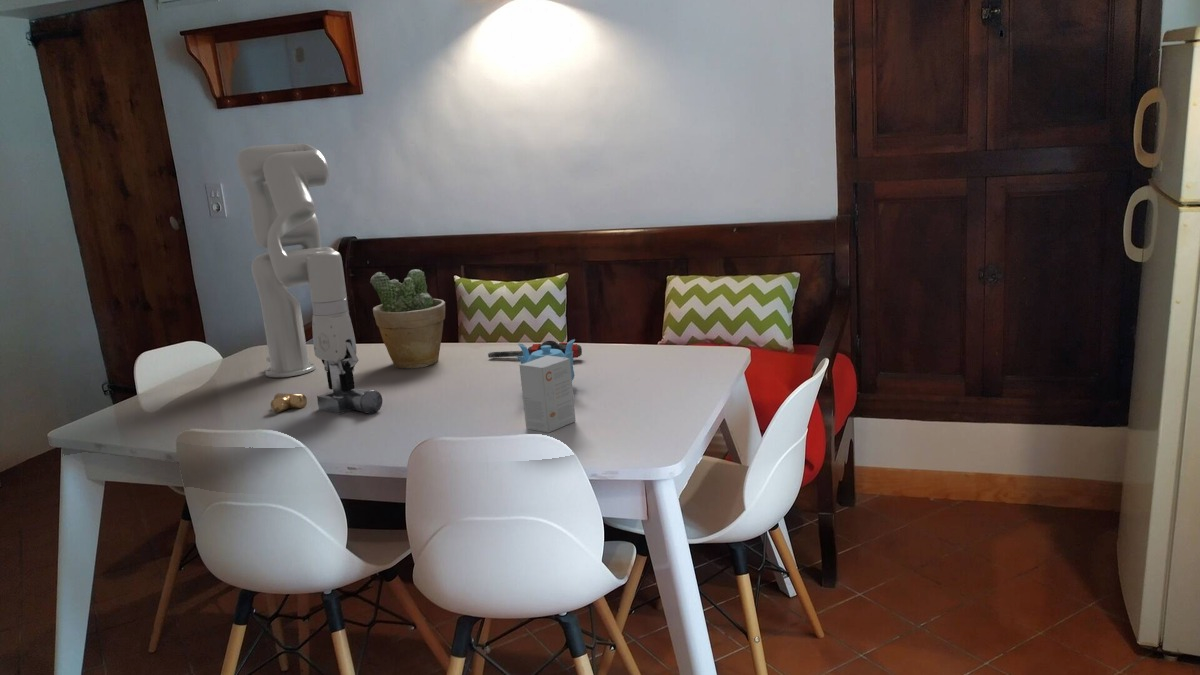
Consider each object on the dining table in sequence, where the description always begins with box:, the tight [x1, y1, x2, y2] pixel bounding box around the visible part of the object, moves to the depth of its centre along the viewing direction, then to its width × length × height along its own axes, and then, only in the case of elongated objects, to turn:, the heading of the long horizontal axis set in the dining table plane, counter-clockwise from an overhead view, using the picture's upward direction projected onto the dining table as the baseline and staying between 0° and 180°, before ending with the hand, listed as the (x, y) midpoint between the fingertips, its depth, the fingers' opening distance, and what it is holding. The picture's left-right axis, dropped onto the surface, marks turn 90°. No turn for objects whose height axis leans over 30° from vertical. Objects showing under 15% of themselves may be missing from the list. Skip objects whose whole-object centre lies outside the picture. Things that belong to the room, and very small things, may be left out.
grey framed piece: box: [316, 387, 383, 415], centre depth 205 cm, size 15×8×5 cm, turn 50°
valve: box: [487, 340, 583, 359], centre depth 240 cm, size 6×26×15 cm
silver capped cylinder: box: [328, 356, 352, 399], centre depth 207 cm, size 4×4×10 cm
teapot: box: [515, 338, 576, 381], centre depth 208 cm, size 13×13×10 cm
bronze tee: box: [270, 392, 308, 414], centre depth 210 cm, size 7×6×3 cm
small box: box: [518, 356, 576, 434], centre depth 182 cm, size 8×6×13 cm
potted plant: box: [369, 269, 446, 369], centre depth 241 cm, size 18×19×25 cm
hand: (341, 388), depth 207 cm, fingers closed on silver capped cylinder, 4 cm apart
